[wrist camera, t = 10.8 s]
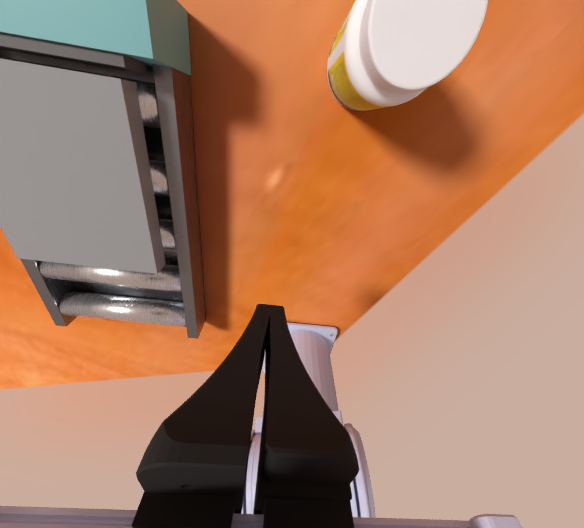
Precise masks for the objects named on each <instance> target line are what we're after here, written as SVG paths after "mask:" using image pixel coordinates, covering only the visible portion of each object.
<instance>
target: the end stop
mask: <svg viewBox="0 0 584 528" xmlns="http://www.w3.org/2000/svg"><path fill="white" fill-rule="evenodd" d="M0 49H4V50H10V51H16V52H21V53H27V54H33V55H39V56H45V57H50V58H56V59H62V60H68V61H73V62H79V63H85V64H91V65H97V66H102V67H108V68H114V69H120V70H126V71H131V72H137V73H143V74H147V73H146V67H148V68H153V64H156V65H161V66H167V67H172V68H174V69H176V70H179V71H181V72H183V73H185V74H188V75H190V76H191V61H190V45H189V30H188V14H187V11H186V10H185V9H184V8H183V7H182V5H181V4H180V3H179V2H178V1H177V0H0Z"/></svg>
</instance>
